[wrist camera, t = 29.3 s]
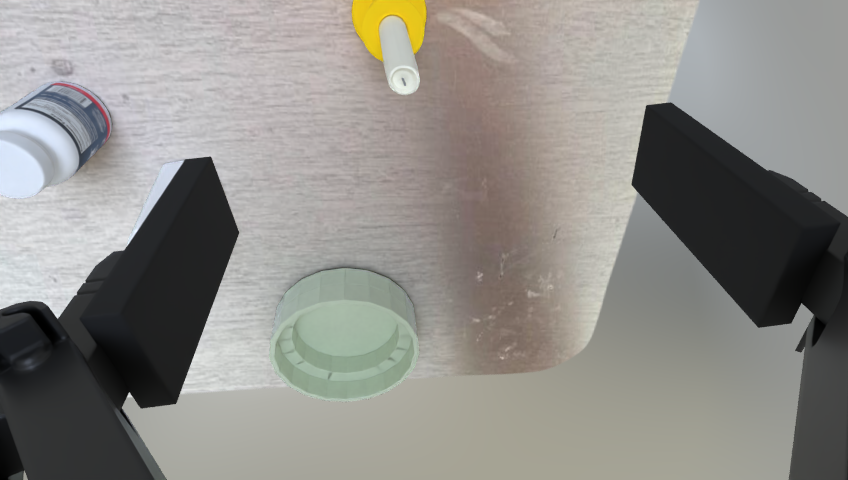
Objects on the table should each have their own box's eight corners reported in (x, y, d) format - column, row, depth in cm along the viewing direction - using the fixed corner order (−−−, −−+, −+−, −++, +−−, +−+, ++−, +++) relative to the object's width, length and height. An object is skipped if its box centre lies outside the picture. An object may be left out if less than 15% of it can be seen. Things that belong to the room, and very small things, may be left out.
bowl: (406, 256, 47) (411, 290, 43) (419, 354, 56) (424, 391, 52) (260, 275, 47) (250, 312, 43) (295, 371, 55) (289, 410, 51)
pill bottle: (66, 156, 38) (-2, 218, 31) (16, 92, 35) (-73, 145, 28) (128, 136, 38) (74, 194, 31) (83, 70, 35) (11, 118, 28)
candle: (398, 66, 37) (418, 158, 24) (337, 23, 35) (324, 100, 22) (440, 3, 35) (486, 69, 22) (378, -46, 33) (389, -5, 20)
